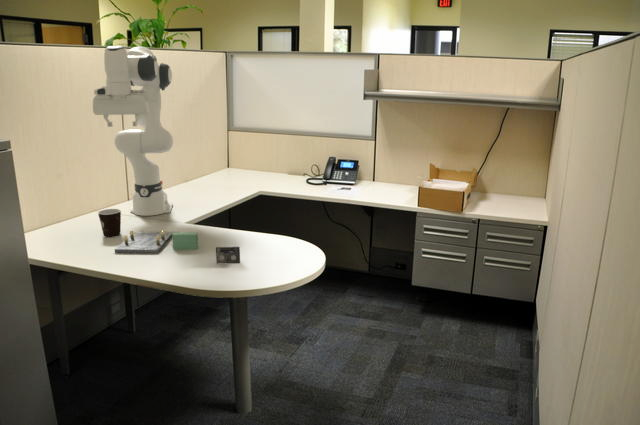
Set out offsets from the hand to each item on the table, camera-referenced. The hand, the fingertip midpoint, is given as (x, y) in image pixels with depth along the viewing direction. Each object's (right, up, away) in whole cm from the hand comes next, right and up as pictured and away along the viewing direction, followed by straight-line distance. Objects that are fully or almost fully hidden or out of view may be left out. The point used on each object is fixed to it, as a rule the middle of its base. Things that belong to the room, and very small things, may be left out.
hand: (122, 126), depth 207 cm
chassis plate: (+9, -46, 0) cm, 47 cm away
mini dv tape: (+45, -52, -19) cm, 71 cm away
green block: (+26, -47, -4) cm, 54 cm away
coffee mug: (-8, -43, +10) cm, 45 cm away
